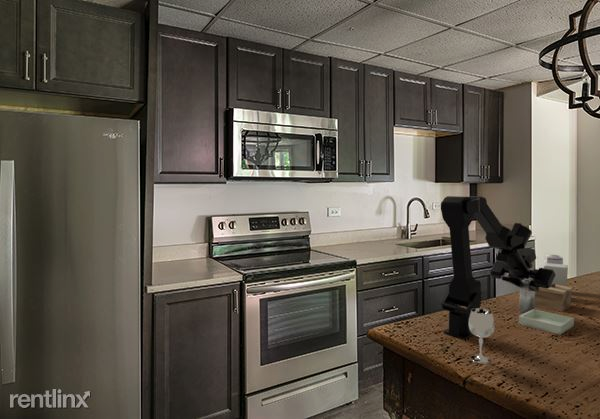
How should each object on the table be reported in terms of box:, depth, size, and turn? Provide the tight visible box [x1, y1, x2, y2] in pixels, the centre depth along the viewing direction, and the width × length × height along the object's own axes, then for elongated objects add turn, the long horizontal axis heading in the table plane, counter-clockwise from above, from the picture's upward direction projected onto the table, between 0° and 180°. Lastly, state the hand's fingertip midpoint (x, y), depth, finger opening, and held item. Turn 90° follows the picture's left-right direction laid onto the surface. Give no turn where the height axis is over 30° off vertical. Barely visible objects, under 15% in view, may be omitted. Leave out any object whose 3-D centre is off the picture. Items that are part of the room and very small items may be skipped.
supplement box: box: [543, 263, 569, 286], centre depth 148 cm, size 7×7×13 cm
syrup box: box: [543, 254, 564, 266], centre depth 157 cm, size 6×6×14 cm
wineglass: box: [468, 307, 496, 365], centre depth 95 cm, size 6×6×12 cm
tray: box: [518, 308, 575, 336], centre depth 119 cm, size 11×11×2 cm
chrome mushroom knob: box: [518, 277, 536, 314], centre depth 132 cm, size 5×5×11 cm
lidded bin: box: [535, 284, 574, 312], centre depth 138 cm, size 10×10×8 cm
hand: (529, 288), depth 132 cm, fingers closed on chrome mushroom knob, 5 cm apart
